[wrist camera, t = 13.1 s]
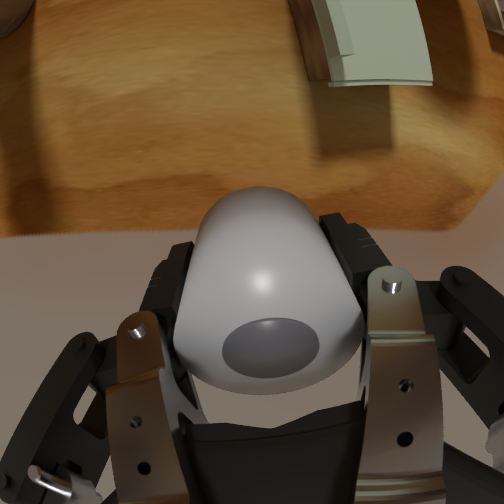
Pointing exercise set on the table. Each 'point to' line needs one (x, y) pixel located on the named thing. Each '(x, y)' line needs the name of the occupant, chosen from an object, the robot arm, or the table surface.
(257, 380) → the grey rounded cylinder
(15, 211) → the table surface
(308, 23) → the condiment box
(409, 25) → the lid
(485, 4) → the cup caddy
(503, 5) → the teacup
